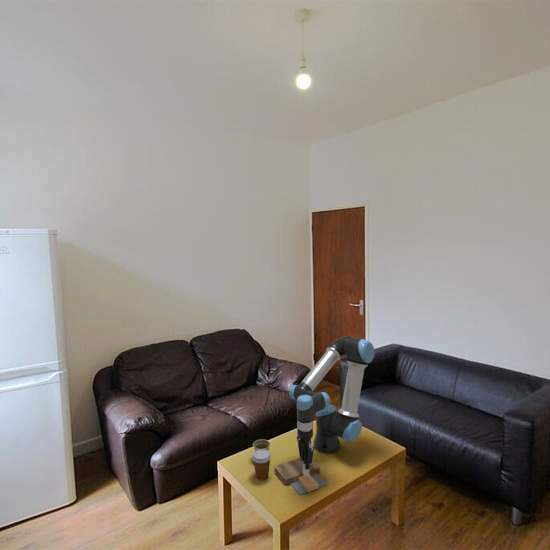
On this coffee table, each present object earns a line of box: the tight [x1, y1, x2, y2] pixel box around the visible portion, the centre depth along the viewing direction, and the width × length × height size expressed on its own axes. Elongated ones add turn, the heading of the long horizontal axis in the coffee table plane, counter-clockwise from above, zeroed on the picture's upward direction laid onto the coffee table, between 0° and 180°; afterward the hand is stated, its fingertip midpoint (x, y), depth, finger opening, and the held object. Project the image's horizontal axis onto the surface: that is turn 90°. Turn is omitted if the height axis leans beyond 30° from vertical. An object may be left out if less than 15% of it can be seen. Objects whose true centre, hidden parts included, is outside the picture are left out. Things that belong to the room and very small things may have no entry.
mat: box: [289, 474, 327, 496], centre depth 176 cm, size 15×9×1 cm, turn 117°
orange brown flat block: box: [298, 474, 320, 493], centre depth 175 cm, size 6×9×2 cm, turn 27°
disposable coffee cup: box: [251, 449, 272, 481], centre depth 182 cm, size 10×10×12 cm
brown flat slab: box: [273, 457, 321, 486], centre depth 185 cm, size 20×12×3 cm, turn 117°
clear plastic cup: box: [252, 439, 271, 452], centre depth 196 cm, size 9×9×9 cm
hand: (305, 473), depth 177 cm, fingers closed
